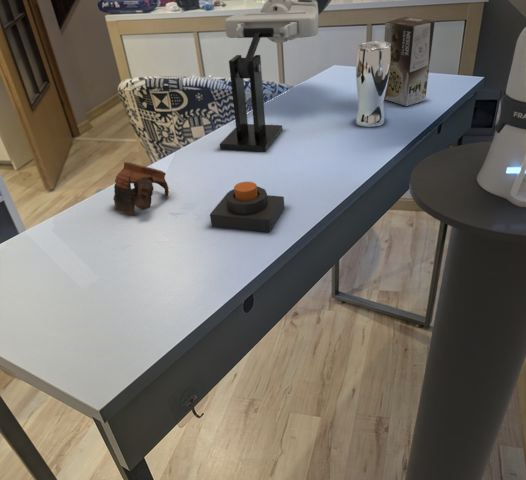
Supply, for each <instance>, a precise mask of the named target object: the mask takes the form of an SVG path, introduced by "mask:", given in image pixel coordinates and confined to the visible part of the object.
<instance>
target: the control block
mask: <svg viewBox="0 0 526 480" xmlns="http://www.w3.org/2000/svg"><path fill="white" fill-rule="evenodd" d="M257 194H258V196H257V198H255V199H253V200H248V201H240V200H237V199H236V198H235V191H234V188H233V189H231V190H229V191H228V192H227V193H226V194H225V195H224V196H223V198H222V199H221V200H220V201H219V202H218V204H217V205H216V206H215V208H213V210H212V211H211V212H210V213H209V218H210V224H211V227H214V228H215V227H216V228H225V229H236V230H243V231H244V230H245V231H254V232H265V233H271V231H272V230H273V228H274V227H275V225H276V224H277V221H279V218H280V217H281V215H282V214H283V211H284V210H285V197H284V196H282V195H281V196H280V195H268V192H267V191H266V189H265V188H263V187H261V186H258V185H257Z"/></svg>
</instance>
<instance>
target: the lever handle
mask: <svg viewBox="0 0 526 480" xmlns="http://www.w3.org/2000/svg"><path fill="white" fill-rule="evenodd" d="M243 34H244V37H245V39H252V40H251V41H250V45H249V47H248V50H247V53H246V56H245V57H241V59H240V62H239V64H238V67H237V69H238V73H239V76H240V78H243V79H250V75H249V64H248V61H249V60H250V59H251V58H253V57H254V56H255V55H256V51H257V49H258V46H259V43H260V41H261V38H264V39H265V38H266V39H268V37H273V36H274V29H273V28H244V32H243Z"/></svg>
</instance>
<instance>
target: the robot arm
mask: <svg viewBox="0 0 526 480" xmlns="http://www.w3.org/2000/svg"><path fill="white" fill-rule="evenodd" d="M331 2H332V0H266V1H265V3H264V4H263V5H262V8H261V9H260V12H259V11H258V12H240V13H236V14H233V15H231V16H229V17H228V16H227V18H225V21H224V29H225V35H226V37H227V38H229V39H244V38H245V37H244V34H243V32H244V28H273V29H274V36H273V37H268V38H267V39H268V40H269V41H270V42H273V43H276V44H284V43H286V42H288V41H292V40H296V39H299V38H300V39H301V38H310V37H315V36H318V34H319V20H320V19H319V15H320V14H321V13H323V12H324V11H325V9H326V8H327V7H328V6H329V4H330V3H331ZM245 39H246V38H245ZM507 79H508V80H507V84H506V89H504V91H502V94H501V97H500V100H499V104H498V107H497V112H496V117H495V123H494V126H495V127H494V129H495V132H494V136H493V139H492V140H491V141H492V144H491V147H490V150H489V152H488V155H487V157H486V160H485V162H484V164H483V166H482V168H481V170H480V172H479V173H478V175H477V182H478V184H479V185H480V186H481V187H482V188H483V189H485V190H486V191H488V192H490V193H492V194H495V195H497V196H500V197H503V198H505V199H507V200H509V201H510V202H511V203H513V204H514V205H516V206H519V207H526V26H525V27H524V28H523V29H522V31H521V32H520V34H519V36H518V37H517V40H516V43H515V48H514V52H513V56H512V62H511V67H510V71H509V76H508V78H507Z"/></svg>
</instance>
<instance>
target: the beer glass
mask: <svg viewBox="0 0 526 480" xmlns="http://www.w3.org/2000/svg"><path fill="white" fill-rule="evenodd" d="M355 63H356V65H355V80H356V82H355V83H356V90H357V98H358V109H357V114H356V119H355V124H356V125H358V126H360V127H364V128H374V127H379V126H381V125H383V124H384V123H385V115H384V105H385V99H384V98H385V94H386V90H387V86H388V81H389V76H390V68H391V43H389V42H385V41H384V40H371V41H365V42H362V43H359V44H358V45H357V54H356V62H355Z"/></svg>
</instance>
